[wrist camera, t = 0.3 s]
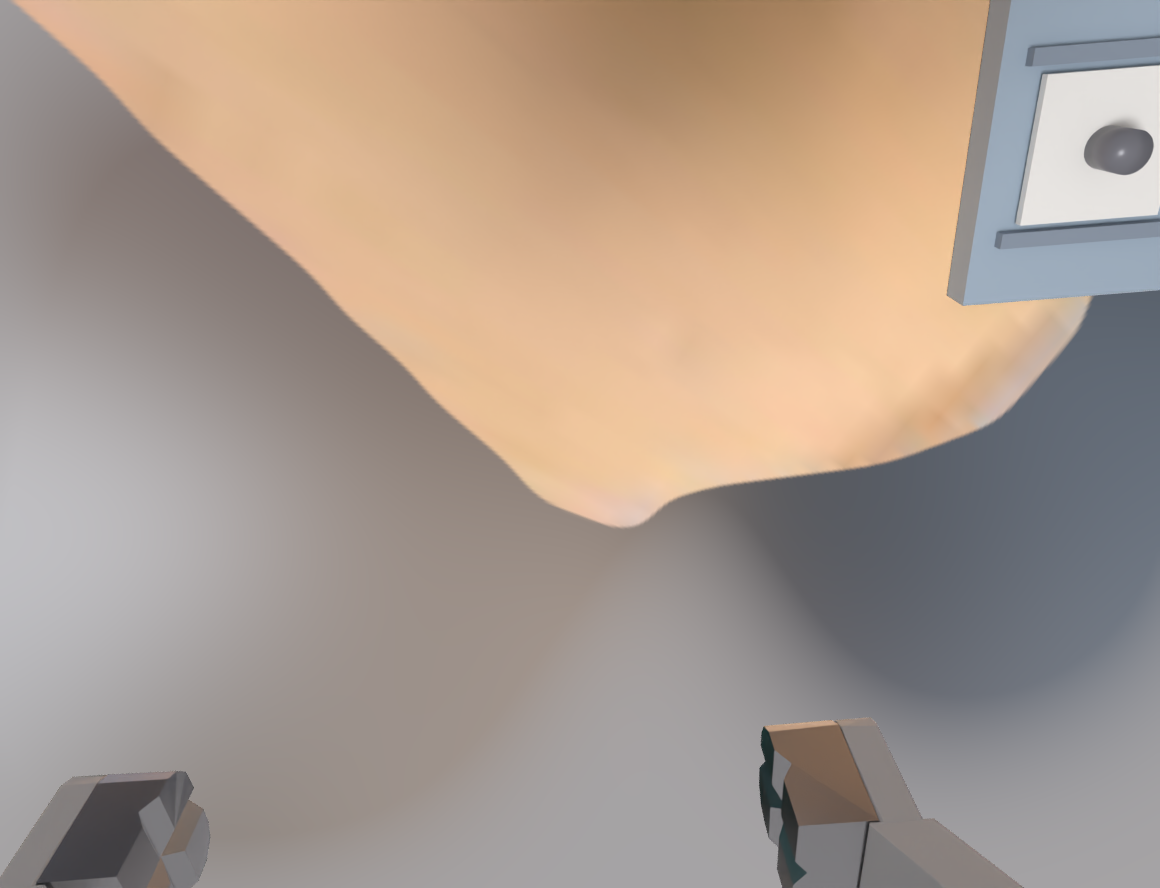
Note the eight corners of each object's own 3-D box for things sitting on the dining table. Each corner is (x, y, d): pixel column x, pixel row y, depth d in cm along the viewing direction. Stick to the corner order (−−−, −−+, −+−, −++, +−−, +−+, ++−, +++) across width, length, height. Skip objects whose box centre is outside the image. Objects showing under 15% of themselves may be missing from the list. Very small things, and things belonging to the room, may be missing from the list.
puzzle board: (993, -24, 48) (1022, -29, 45) (1355, -54, 48) (1408, -60, 45) (946, 295, 57) (968, 309, 54) (1249, 271, 57) (1287, 283, 54)
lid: (1042, 74, 48) (1072, 76, 45) (1190, 62, 48) (1229, 63, 45) (1015, 223, 52) (1041, 234, 49) (1151, 212, 52) (1185, 222, 49)
